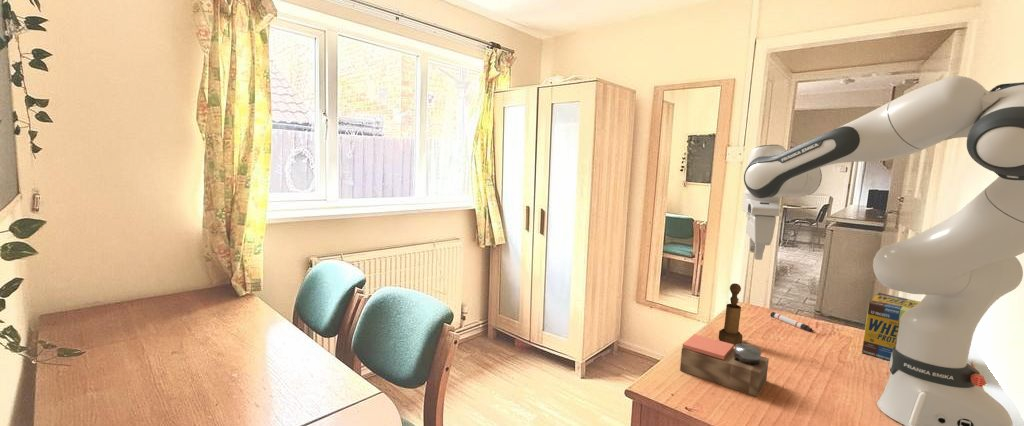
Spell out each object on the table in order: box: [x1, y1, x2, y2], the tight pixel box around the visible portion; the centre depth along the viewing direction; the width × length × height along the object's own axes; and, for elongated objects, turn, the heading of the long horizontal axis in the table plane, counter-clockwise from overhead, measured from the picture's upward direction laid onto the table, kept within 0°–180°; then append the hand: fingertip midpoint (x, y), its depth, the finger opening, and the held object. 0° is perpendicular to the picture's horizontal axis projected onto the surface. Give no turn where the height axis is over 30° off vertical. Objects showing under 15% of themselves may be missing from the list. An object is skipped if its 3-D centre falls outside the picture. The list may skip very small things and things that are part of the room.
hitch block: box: [679, 347, 770, 397], centre depth 110 cm, size 18×10×6 cm, turn 49°
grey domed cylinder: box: [734, 342, 762, 366], centre depth 107 cm, size 6×6×8 cm
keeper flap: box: [682, 333, 735, 360], centre depth 112 cm, size 10×9×1 cm
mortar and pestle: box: [718, 282, 743, 346], centre depth 131 cm, size 7×6×18 cm
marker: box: [769, 311, 815, 332], centre depth 147 cm, size 15×2×2 cm, turn 18°
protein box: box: [861, 292, 921, 362], centre depth 126 cm, size 10×15×16 cm
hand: (755, 255), depth 119 cm, fingers open, 8 cm apart
